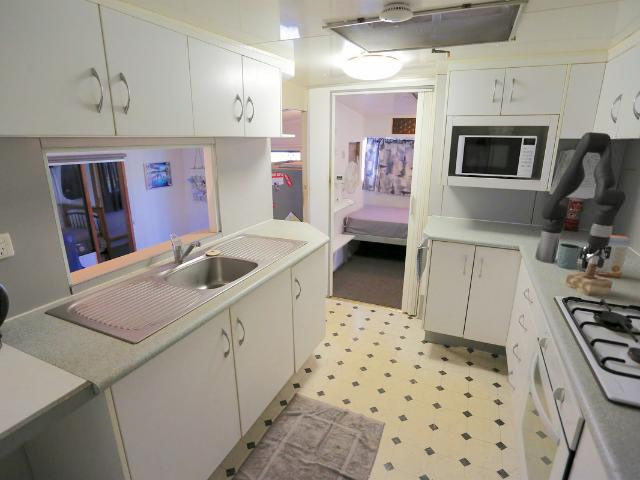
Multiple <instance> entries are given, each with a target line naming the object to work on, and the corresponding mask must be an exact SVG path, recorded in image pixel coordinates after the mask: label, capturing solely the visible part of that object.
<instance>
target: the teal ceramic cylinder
mask: <svg viewBox="0 0 640 480" xmlns="http://www.w3.org/2000/svg"><path fill="white" fill-rule="evenodd" d="M582 247H583V246H581V245H578V244H577V245H576V244H573V243H559V245H558V253H557V262H556V266H557V267H558V268H559V269H560V268H561V269H565V270H575V269H576V267H577V264H578V261H579V256H580V252H581V249H582Z"/></svg>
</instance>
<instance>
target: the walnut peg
mask: <svg viewBox="0 0 640 480" xmlns="http://www.w3.org/2000/svg"><path fill="white" fill-rule="evenodd" d="M596 267H597V264H595V263H588V267H587V272H586V271H585V272H586V276H585V278H587V279H590V280H592V279H594V276H595V272H596Z"/></svg>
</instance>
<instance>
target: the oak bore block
mask: <svg viewBox="0 0 640 480" xmlns="http://www.w3.org/2000/svg"><path fill="white" fill-rule="evenodd" d="M585 276H586V271H584V272H571V273H567V276H566V278H565V279H566V280H565V284H564V285H565V287H568V288H570V289H573V290H575V291H576V292H579V293H581V294H583V295H585V296H588V297H589V296H591V297H592V296H599V295H610V294H611V290H612V286H613V283H614V281H613V280H610V279H607V278H604V277H602V276H599V275H595V276H594V279H592V280H590V279H587V278H585Z"/></svg>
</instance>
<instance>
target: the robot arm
mask: <svg viewBox="0 0 640 480" xmlns="http://www.w3.org/2000/svg"><path fill="white" fill-rule="evenodd" d="M612 152H613V151H612V139H611V136H610V135H609V134H608V133H603V132H592V131H591V132H585V133H584V134H582V136H581V138H580V140H579V141H578V144H577V145H576V148H575V151H574V153H573V154H572V157H571V160H570V162H569V163H568V165H567V167H566V169H565V170H564V172H563V174H562V176H561V177H560V180H559V182H557V185H556V187H555V189H554V191H553V192H552V194H551V195H550V197H549V198H548V199H547V201H546V202H545V204H544V205H543V207H542V209H541V210H542V211H541V217H542V218H543V219H545V220H550V221H551V222H549V223H547V224H544V225H543V226H542V228H541V235H540V239H539V242H538V243H537V246H536V251H535V257H534V258H535V259H536V260H537V261H539V262H542V263H548V264H549V263H550V264H554V263H556V259H557V256H558V251H559V245H560V240H561V235H562V230H563V229H564V227H565V223H566V220H567V215H568V211H569V210H568V206H567V205H566V204H565V203H562V201H563V200H564V199H565V198H567V197H568V196H570V195H572V194H574V192H576V191H577V190H578V189H579V188H580V187H581V185H582V182H583V181H584V179H585V177H586V172H585V167H584V163H583V162H584V159H585V156H586V154H588V153H589V154H598V155H599V158H600V159H599V161H598V162H597V164H596V166H595V167H594V170H593V178H594V182H595V191H594V198H593V200H594V202H595V204H596V205H599V206H605V207H606V206H608V207H607V208H605V209H601V210H597V211H596V212H595V214H594V217H593V221H592V225H591V227H590V232H589V235H588V238H587V239H588V240H587V243H588V246H581V247H582V249H581V252H580V255H579V258H578V260H581V261H582V262H581V265H580V267H581V269H583V270H585V269H587V266H588V261H589V260H590V259H591V258H593V257H594V256H598V257H599V259H598V263H597V267H599V268H602V267H603V264H604V261H605V260H606V259H609V258H610V253H611V249H612V247H611V246H608V245H609V241H610V237H611V235H612V233H613V227H614V226H613V225H614V223H615V218H616V216H617V215H618V213H619V211H620V209H621V208H622V207H623V205H624V203H625V201H626V193H625V191H623V190H621V189H612V188H614V187H615V186H616V184H617V181H616V176H615V172H614V169H613V163H612V162H613V158H612V157H613V155H612ZM606 253H607V256H606ZM589 254H590V255H589Z"/></svg>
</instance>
